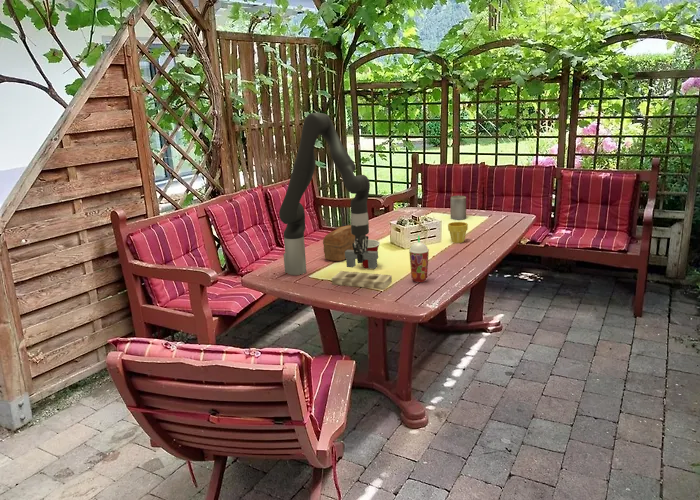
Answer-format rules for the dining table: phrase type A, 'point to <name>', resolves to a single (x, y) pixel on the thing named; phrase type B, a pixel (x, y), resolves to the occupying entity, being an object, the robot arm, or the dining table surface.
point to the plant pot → (457, 231)
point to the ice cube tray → (362, 279)
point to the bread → (338, 243)
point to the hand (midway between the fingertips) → (361, 261)
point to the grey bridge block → (366, 255)
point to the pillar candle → (458, 207)
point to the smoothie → (419, 261)
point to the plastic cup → (371, 249)
